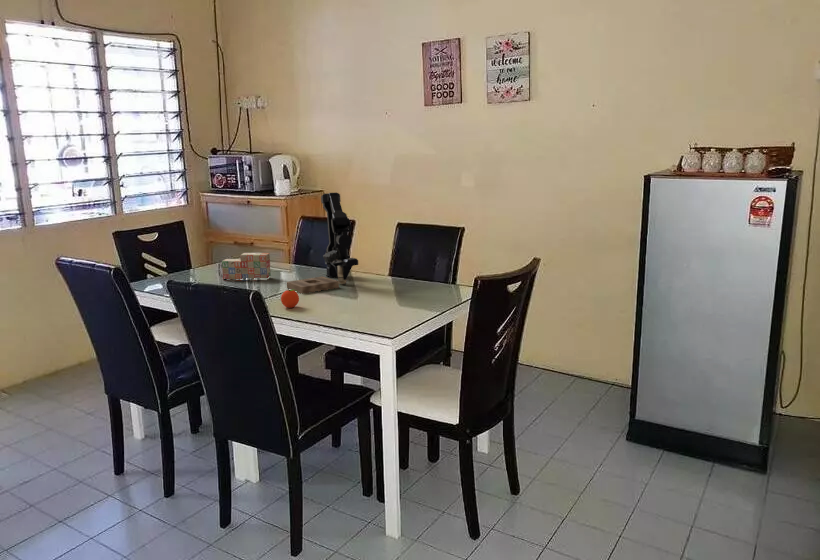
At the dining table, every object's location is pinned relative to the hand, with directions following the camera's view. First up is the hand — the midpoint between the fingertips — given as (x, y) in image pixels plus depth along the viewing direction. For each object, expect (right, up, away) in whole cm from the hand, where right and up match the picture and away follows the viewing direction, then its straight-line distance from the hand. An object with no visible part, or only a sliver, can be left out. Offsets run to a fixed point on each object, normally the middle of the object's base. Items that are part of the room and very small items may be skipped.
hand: (342, 278), depth 291 cm
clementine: (-16, -11, -39) cm, 43 cm away
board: (-12, -4, -6) cm, 14 cm away
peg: (0, -2, 0) cm, 2 cm away
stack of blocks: (-47, 0, +16) cm, 49 cm away
